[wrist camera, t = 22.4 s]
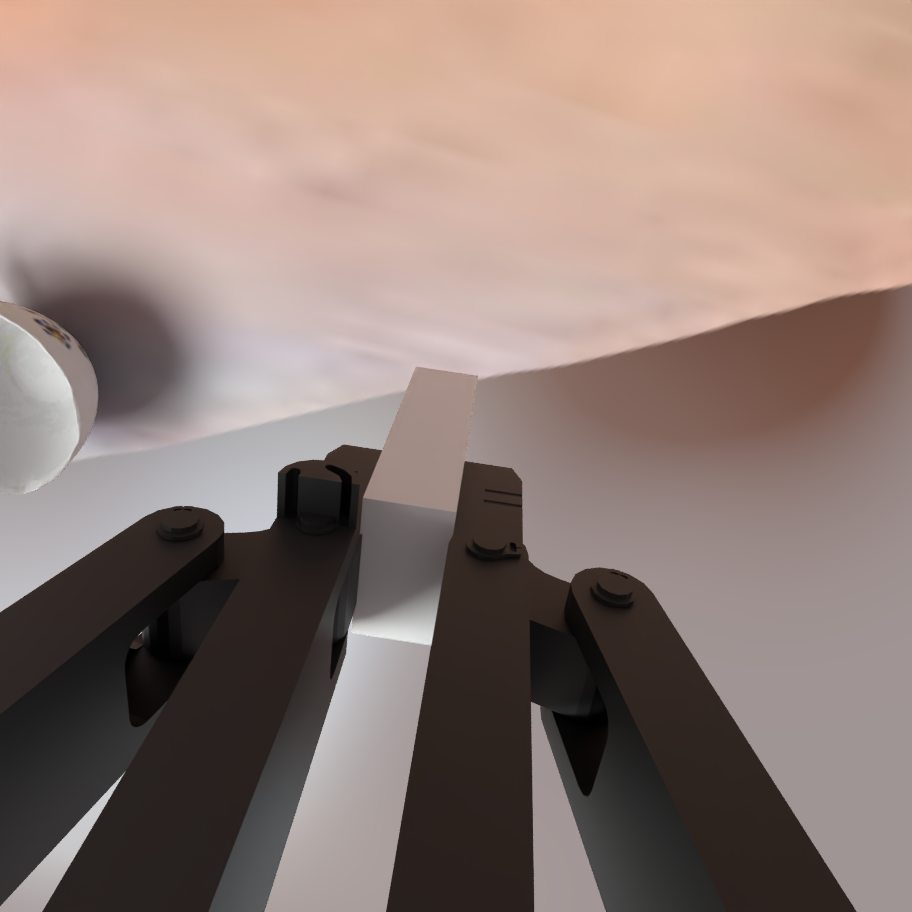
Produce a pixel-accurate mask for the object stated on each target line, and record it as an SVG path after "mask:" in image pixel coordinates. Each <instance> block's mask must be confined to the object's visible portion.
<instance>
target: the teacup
mask: <svg viewBox="0 0 912 912" xmlns="http://www.w3.org/2000/svg"><path fill="white" fill-rule="evenodd" d="M97 408H98V384H97V378H96V375H95V372H94V368H93V366H92V363H91V361H90V359H89V357H88V355H87V354H86V352H85V351H84V349H83V348H82V347H81V345H80V344H79V343H78V342H77V340H76V339H75V338H74V337H73V336H72V335H71V334H70V333H69V332H67V331H66V330H65V329H64V328H62V327H61V326H60V325H59V324H57V323H56V322H54V321H52V320H51V319H49V318H47V317H46V316H44V315H42V314H40V313H38V312H35V311H33V310H30V309H28V308H25V307H22V306H19V305H15V304H11V303H7V302H1V301H0V492H3V493H6V494H25V493H27V492H32V491H34V490H37V489H39V488H41V487H42V486H44V485H45V484H47V483H49V482H50V481H52V480H54V479H55V478H56V477H58V476H59V475H60V474H61V473H62V472H63V470H64V469H65V468H66V467H67V466H68V464H69V463H70V462H71V460H72V459H73V458H74V457H75V456H76V454H77V453H78V452H79V450H80V449H81V448H82V446H83V445H84V443H85V441H86V439H87V438H88V436H89V434H90V431H91V429H92V427H93V424H94V421H95V418H96V414H97Z"/></svg>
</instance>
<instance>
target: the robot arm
mask: <svg viewBox="0 0 912 912" xmlns="http://www.w3.org/2000/svg"><path fill="white" fill-rule="evenodd" d="M477 378H478V376H474V375H468V374H461V373H455V372H448V371H441V370H435V369H428V368H421V367H416V368H415V371H414V373H413V376H412V378H411V381H410V383H409V386H408V388H407V391H406V393H405V396H404V398H403V400H402V403H401V405H400V408H399V411H398V413H397V415H396V418H395V420H394V423H393V425H392V427H391V430H390V432H389V435H388V437H387V440H386V442H385V445H384V447H383V450H376V449H369V448H362V447H356V446H349V445H342V446H340V447H339V448H337V449H335V450H333V451H332V452H330V453H328V455H327V456H326V458H325V460H323V461H322V460H308V461H299V462H296V463H293V464H290V465H287V466H285V467H284V468H283V469H282V470H281V471H279V472H278V498H277V499H278V501H277V502H278V503H277V518H276V519H275V521H274V523H273V524H272V526H271V528H270V529H267V530H263V531H257V532H247V533H224V522H223V520H222V519H221V518H220V517H219V515H217V514H215V513H213V512H211V511H209V510H207V509H203V508H197V507H192V506H184V507H182V506H176V507H172V508H167V509H162V510H158V511H156V512H154V513H152V514H149V515H147V516H145V517H144V518H142V519H141V520H139V521H138V522H136V523H135V524H133V525H131V526H130V527H129V528H127V529H125V530H124V531H122V532H121V533H119V534H118V535H116V536H115V537H113V538H112V539H110V540H109V541H107V542H106V543H104V544H103V545H101V546H100V547H98V548H97V549H95V550H94V551H92V552H91V553H89V554H88V555H86V556H85V557H83V558H82V559H80V560H79V561H77V562H76V563H74V564H73V565H71V566H70V567H68V568H67V569H65V570H64V571H62V572H60V573H59V574H57V575H56V576H55V577H53V578H51V579H50V580H49V581H47V582H45V583H44V584H42V585H41V586H39V587H38V588H36V589H35V590H33V591H32V592H30V593H29V594H27V595H26V596H24V597H23V598H21V599H20V600H18V601H17V602H15V603H14V604H12V605H11V606H9V607H8V608H6V609H5V610H3V611H2V612H0V906H1V905H2V904H3V902H4V901H5V900H6V899H7V898H8V897H9V896H10V895H11V894H12V893H13V891H15V890H16V888H17V887H18V886H19V885H20V884H21V883H22V882H23V881H24V880H25V879H26V878H27V877H28V875H29V874H30V873H31V872H32V871H33V870H34V869H35V868H36V867H37V866H38V865H39V864H40V863H41V862H42V861H43V859H44V858H45V857H46V856H47V855H48V854H49V853H50V852H51V851H52V850H53V849H54V847H56V845H57V844H58V843H59V842H60V841H61V840H62V839H63V838H64V837H65V836H66V835H67V834H68V833H69V831H70V830H71V829H72V828H73V827H74V826H75V825H76V824H77V823H78V822H79V821H80V820H81V819H82V817H83V816H84V815H85V814H86V813H87V812H88V811H89V810H90V809H91V808H92V806H93V805H94V804H96V802H97V801H98V800H99V799H100V798H101V797H102V796H103V795H104V794H105V793H106V792H107V791H108V790H109V788H110V787H111V786H112V785H113V784H114V783H115V782H116V781H117V780H118V779H119V778H120V777H121V776H122V775H123V773H124V772H125V771H126V772H125V774H124V775H123V777H122V779H121V780H120V782H119V784H118V785H117V787H116V789H115V790H114V792H113V794H112V796H111V797H110V799H109V800H108V802H107V804H106V805H105V807H104V809H103V810H102V812H101V814H100V816H99V817H98V819H97V821H96V822H95V824H94V826H93V828H92V829H91V831H90V832H89V834H88V836H87V837H86V839H85V841H84V843H83V844H82V846H81V848H80V850H79V851H78V853H77V854H76V856H75V858H74V860H73V861H72V863H71V865H70V866H69V868H68V869H67V871H66V873H65V875H64V876H63V878H62V880H61V881H60V883H59V885H58V886H57V888H56V890H55V892H54V893H53V895H52V896H51V898H50V900H49V902H48V903H47V905H46V906H45V908H44V910H43V911H42V912H264V911H265V908H266V904H267V901H268V898H269V895H270V892H271V888H272V886H273V882H274V879H275V876H276V873H277V870H278V866H279V863H280V860H281V857H282V854H283V850H284V848H285V844H286V841H287V838H288V835H289V832H290V828H291V825H292V822H293V819H294V816H295V813H296V809H297V806H298V803H299V800H300V797H301V794H302V791H303V788H304V784H305V781H306V778H307V775H308V772H309V769H310V765H311V762H312V759H313V756H314V753H315V749H316V746H317V743H318V740H319V737H320V734H321V731H322V727H323V724H324V721H325V718H326V715H327V712H328V708H329V705H330V702H331V699H332V696H333V693H334V690H335V686H336V683H337V680H338V677H339V674H340V671H341V667H342V664H343V661H344V658H345V655H346V647H347V635H348V628H349V625H350V622H351V619H352V616H353V621H352V632H351V633H355V634H361V635H368V636H375V637H381V638H387V639H393V640H400V641H406V642H413V643H419V644H426V645H431V650H430V656H429V662H428V668H427V674H426V680H425V686H424V692H423V697H422V703H421V709H420V715H419V721H418V727H417V733H416V739H415V745H414V751H413V757H412V762H411V769H410V774H409V780H408V786H407V792H406V798H405V804H404V810H403V815H402V821H401V827H400V833H399V839H398V845H397V851H396V857H395V863H394V869H393V875H392V881H391V887H390V892H389V898H388V904H387V910H386V912H534V869H533V810H532V809H533V808H532V751H531V749H532V747H531V702H533V703H536V704H538V705H540V706H541V707H540V710H541V719H542V723H543V726H544V729H545V731H546V735H547V738H548V741H549V743H550V746H551V749H552V752H553V755H554V758H555V761H556V764H557V767H558V770H559V773H560V776H561V779H562V782H563V785H564V788H565V791H566V794H567V797H568V800H569V803H570V806H571V809H572V812H573V815H574V818H575V821H576V824H577V826H578V830H579V833H580V835H581V838H582V842H583V845H584V848H585V850H586V854H587V856H588V859H589V862H590V865H591V868H592V871H593V874H594V877H595V880H596V883H597V886H598V889H599V892H600V895H601V898H602V901H603V904H604V907H605V910H606V912H856V910H855V909H854V907H853V905H852V904H851V902H850V901H849V899H848V898H847V896H846V894H845V893H844V892H843V890H842V888H841V887H840V885H839V884H838V882H837V880H836V879H835V877H834V876H833V874H832V873H831V871H830V869H829V868H828V866H827V865H826V863H825V862H824V860H823V858H822V857H821V855H820V854H819V852H818V851H817V849H816V848H815V846H814V844H813V843H812V841H811V840H810V838H809V837H808V835H807V833H806V832H805V830H804V829H803V827H802V826H801V824H800V823H799V821H798V819H797V818H796V816H795V815H794V813H793V812H792V810H791V808H790V807H789V805H788V804H787V802H786V801H785V799H784V797H783V796H782V794H781V793H780V791H779V790H778V788H777V787H776V785H775V783H774V782H773V780H772V779H771V777H770V776H769V774H768V773H767V771H766V769H765V768H764V766H763V765H762V763H761V762H760V760H759V759H758V757H757V755H756V754H755V752H754V751H753V749H752V747H751V746H750V744H749V743H748V741H747V740H746V738H745V737H744V735H743V733H742V732H741V730H740V729H739V727H738V726H737V724H736V722H735V721H734V719H733V718H732V716H731V715H730V713H729V712H728V710H727V708H726V707H725V705H724V704H723V702H722V701H721V699H720V697H719V696H718V694H717V693H716V691H715V690H714V688H713V687H712V685H711V683H710V682H709V680H708V679H707V677H706V676H705V674H704V672H703V671H702V669H701V668H700V666H699V665H698V663H697V661H696V660H695V659H694V657H693V655H692V654H691V652H690V651H689V649H688V647H687V646H686V645H685V643H684V641H683V640H682V638H681V637H680V635H679V633H678V632H677V630H676V629H675V627H674V625H673V624H672V622H671V621H670V619H669V618H668V616H667V615H666V613H665V611H664V610H663V608H662V607H661V605H660V604H659V602H658V600H657V599H656V597H655V596H654V594H653V593H652V592H651V591H650V590H649V589H648V587H647V586H646V585H645V584H644V583H642V582H641V581H639V580H638V579H636V578H634V577H632V576H631V575H629V574H626V573H624V572H620V571H618V570H614V569H606V568H591V569H585V570H583V571H581V572H579V573H577V574H575V576H574V578H573V580H572V582H571V583H569V582H566V581H563V580H560V579H558V578H555V577H553V576H551V575H548V574H546V573H544V572H543V571H541V570H540V569H538V568H536V567H535V566H534V565H533V564H532V563H531V562H530V561H529V560H528V559H529V558H528V552H527V550H526V547H525V545H524V544H523V535H522V534H523V533H522V532H523V531H522V481H521V479H520V478H519V477H518V476H517V474H516V473H515V472H514V470H513V469H512V468H506V467H499V466H493V465H486V464H479V463H473V462H466V461H465V457H466V450H467V444H468V437H469V430H470V424H471V417H472V411H473V404H474V397H475V391H476V385H477ZM141 632H142V633H141ZM140 633H141V634H140ZM139 634H140V635H139ZM138 635H139V636H138Z"/></svg>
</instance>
